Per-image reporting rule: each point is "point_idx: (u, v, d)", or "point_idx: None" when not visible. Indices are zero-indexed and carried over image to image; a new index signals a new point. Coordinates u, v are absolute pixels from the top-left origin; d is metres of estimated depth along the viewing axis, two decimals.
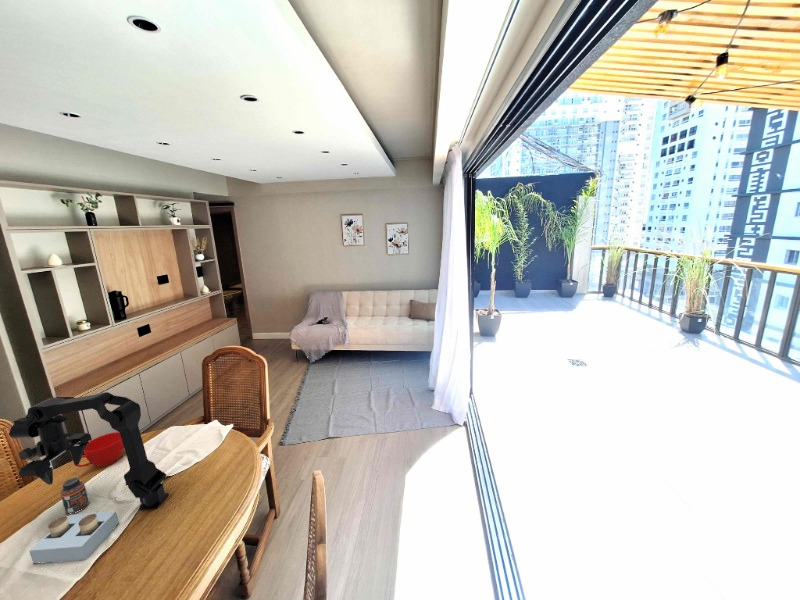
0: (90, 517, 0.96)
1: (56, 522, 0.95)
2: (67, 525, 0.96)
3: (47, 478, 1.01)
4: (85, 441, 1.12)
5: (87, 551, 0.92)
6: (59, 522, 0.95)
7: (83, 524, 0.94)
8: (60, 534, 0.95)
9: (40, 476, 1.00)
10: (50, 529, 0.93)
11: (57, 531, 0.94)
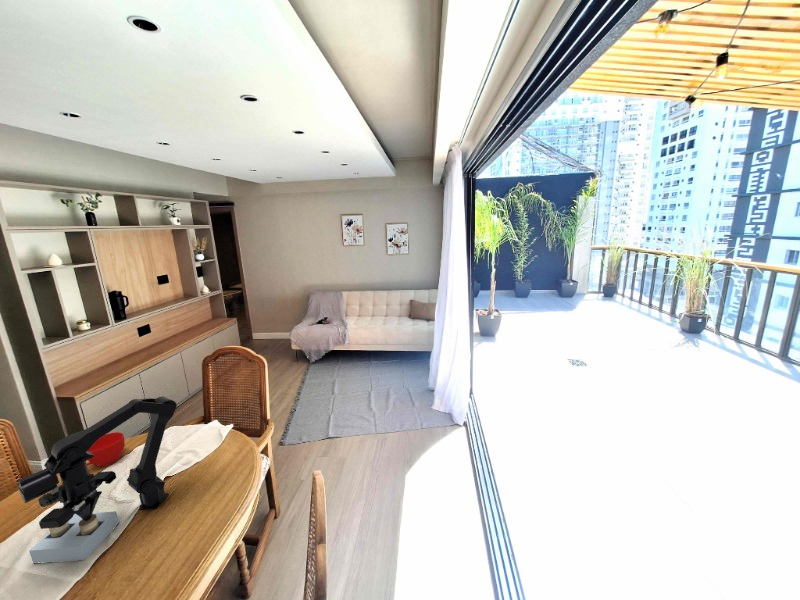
0: None
1: None
2: (67, 525, 0.96)
3: (84, 514, 0.94)
4: (110, 481, 1.01)
5: (87, 551, 0.92)
6: None
7: (83, 524, 0.94)
8: (60, 534, 0.95)
9: (77, 512, 0.93)
10: (50, 529, 0.93)
11: (57, 531, 0.94)
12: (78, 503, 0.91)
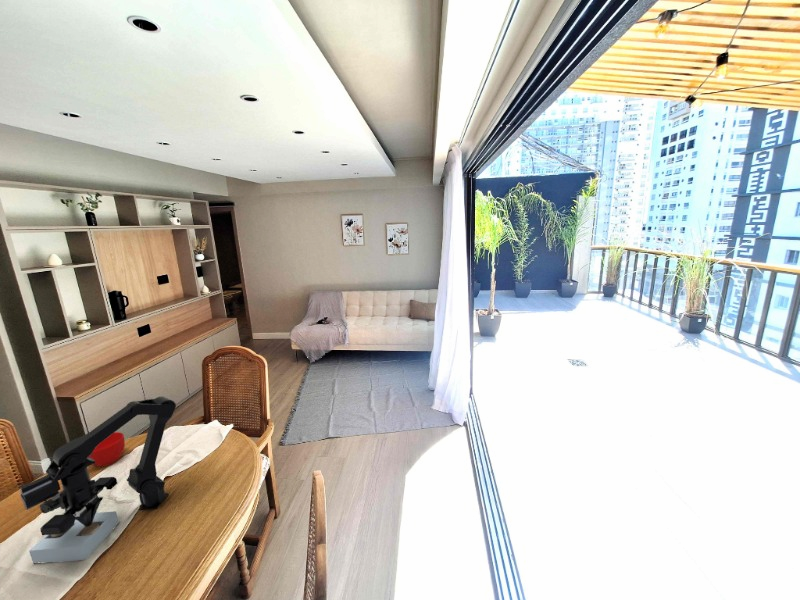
0: (92, 525, 0.97)
1: None
2: None
3: (85, 520, 0.94)
4: (111, 487, 1.01)
5: (87, 551, 0.92)
6: None
7: (85, 532, 0.95)
8: (60, 534, 0.95)
9: (78, 518, 0.94)
10: None
11: None
12: (79, 509, 0.92)
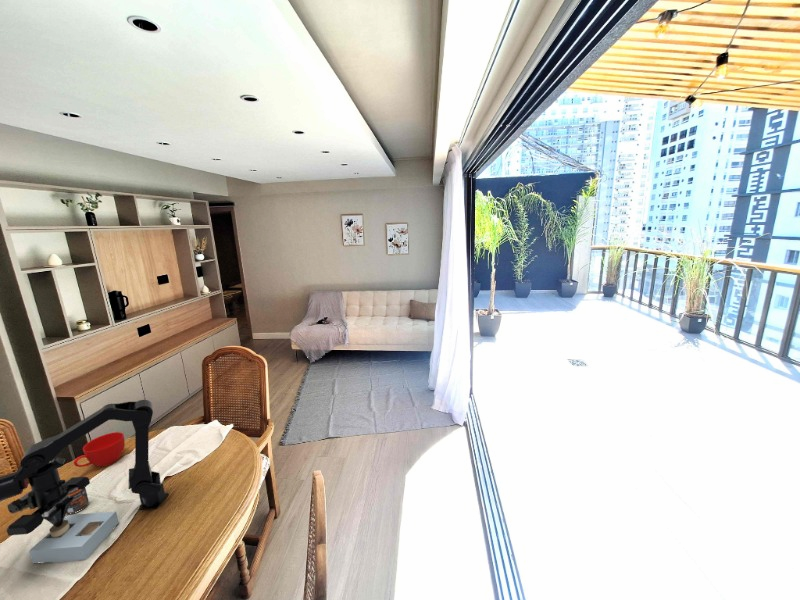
0: (92, 525, 0.97)
1: None
2: (68, 529, 0.97)
3: (55, 520, 0.94)
4: (83, 486, 1.00)
5: (87, 551, 0.92)
6: (60, 526, 0.95)
7: (85, 532, 0.95)
8: None
9: (48, 518, 0.93)
10: (51, 533, 0.94)
11: (58, 535, 0.94)
12: (48, 509, 0.91)
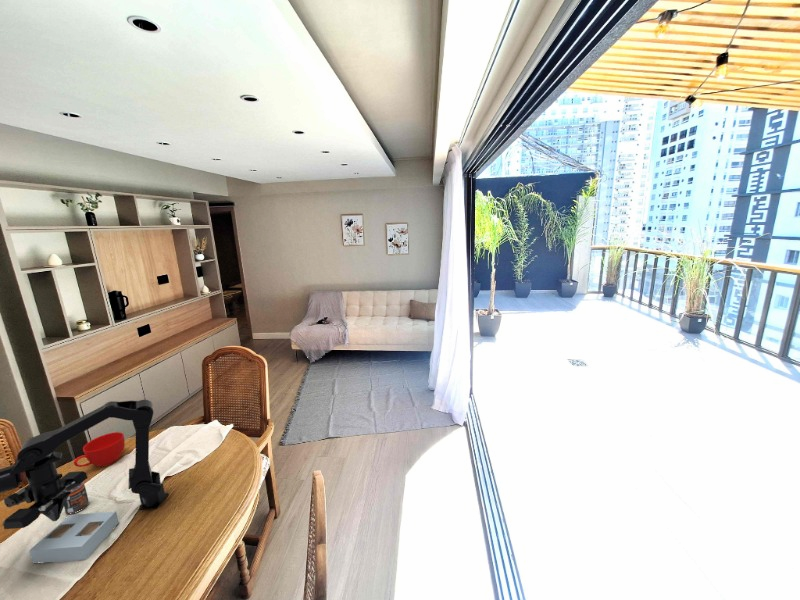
0: (92, 525, 0.97)
1: (58, 530, 0.96)
2: None
3: (52, 515, 0.93)
4: (80, 481, 1.00)
5: (87, 551, 0.92)
6: (62, 530, 0.96)
7: (85, 532, 0.95)
8: None
9: (44, 513, 0.93)
10: (53, 537, 0.94)
11: None
12: (45, 503, 0.91)
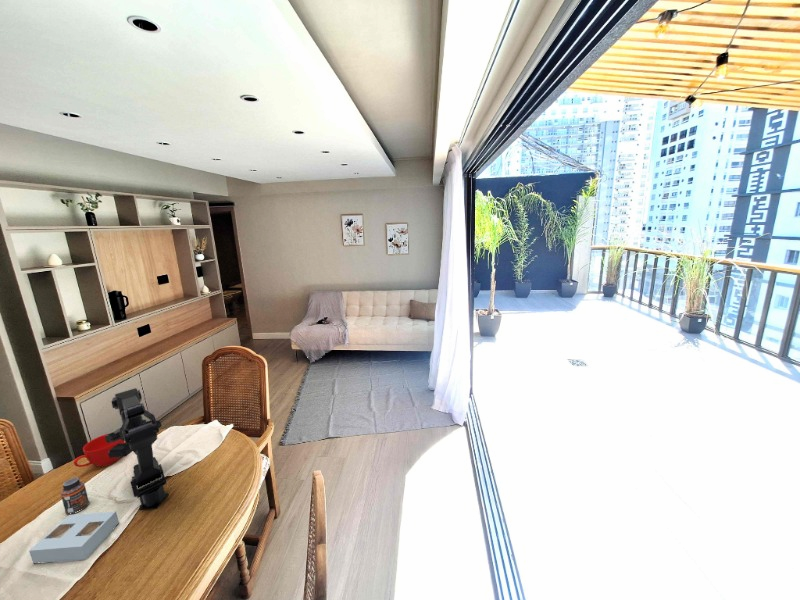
0: (92, 525, 0.97)
1: (58, 530, 0.96)
2: None
3: None
4: None
5: (87, 551, 0.92)
6: (62, 530, 0.96)
7: (85, 532, 0.95)
8: None
9: (133, 450, 1.16)
10: (53, 537, 0.94)
11: None
12: None
